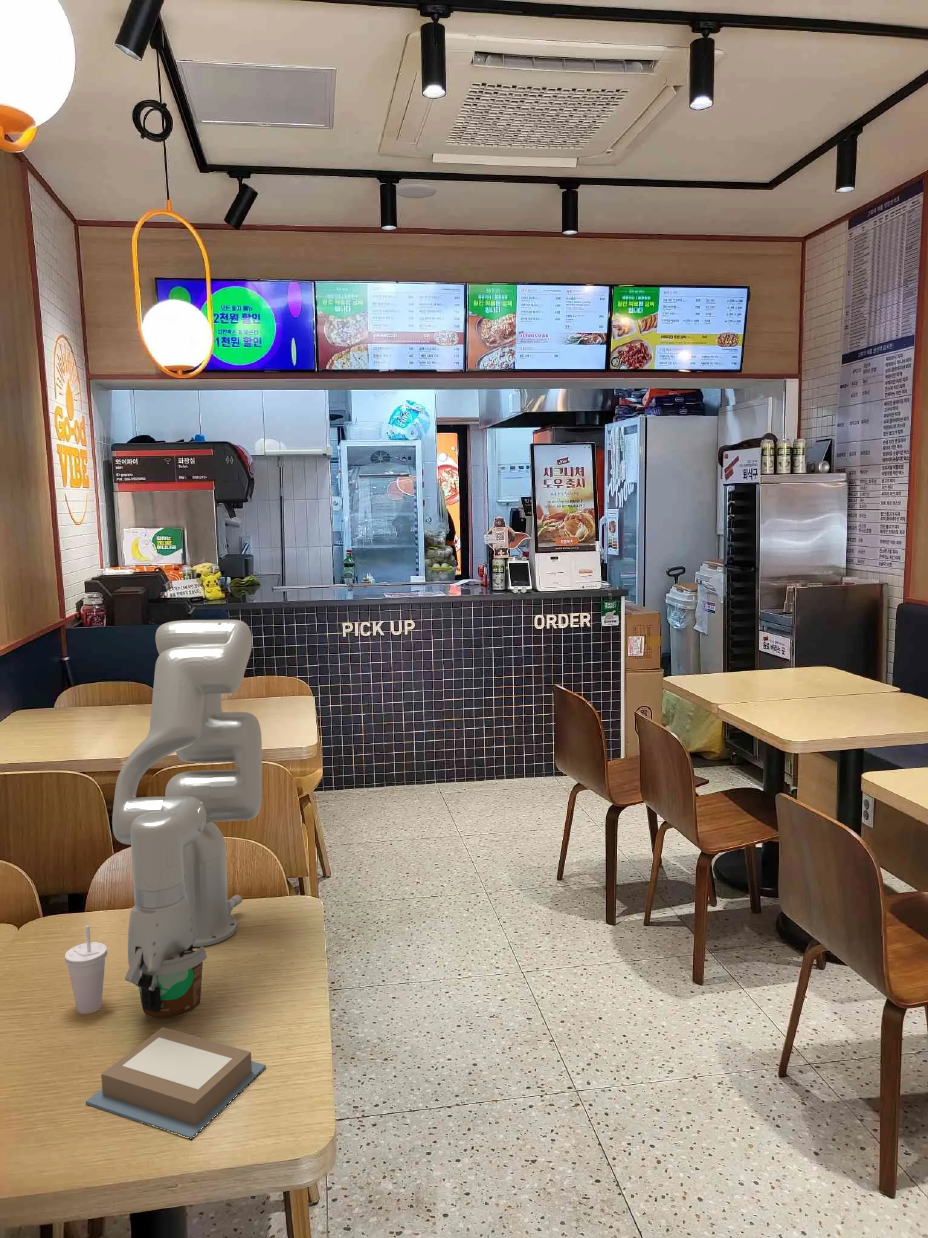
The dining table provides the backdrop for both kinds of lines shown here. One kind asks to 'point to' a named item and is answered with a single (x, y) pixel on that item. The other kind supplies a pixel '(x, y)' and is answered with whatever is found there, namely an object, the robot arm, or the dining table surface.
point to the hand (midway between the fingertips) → (165, 998)
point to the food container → (178, 984)
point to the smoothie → (87, 974)
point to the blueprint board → (175, 1081)
